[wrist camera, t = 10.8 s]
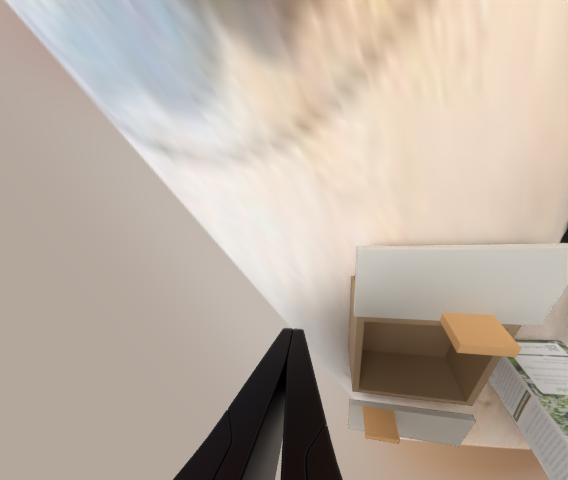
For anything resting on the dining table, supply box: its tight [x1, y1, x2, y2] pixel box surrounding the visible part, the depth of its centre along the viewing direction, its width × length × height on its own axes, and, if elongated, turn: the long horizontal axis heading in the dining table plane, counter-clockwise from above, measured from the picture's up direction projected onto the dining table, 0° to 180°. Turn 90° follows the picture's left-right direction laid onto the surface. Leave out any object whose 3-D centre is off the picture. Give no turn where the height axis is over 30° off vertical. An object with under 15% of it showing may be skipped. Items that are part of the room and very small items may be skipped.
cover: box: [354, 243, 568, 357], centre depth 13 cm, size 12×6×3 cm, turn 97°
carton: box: [349, 276, 521, 406], centre depth 21 cm, size 11×12×5 cm
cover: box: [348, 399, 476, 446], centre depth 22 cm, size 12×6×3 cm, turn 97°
